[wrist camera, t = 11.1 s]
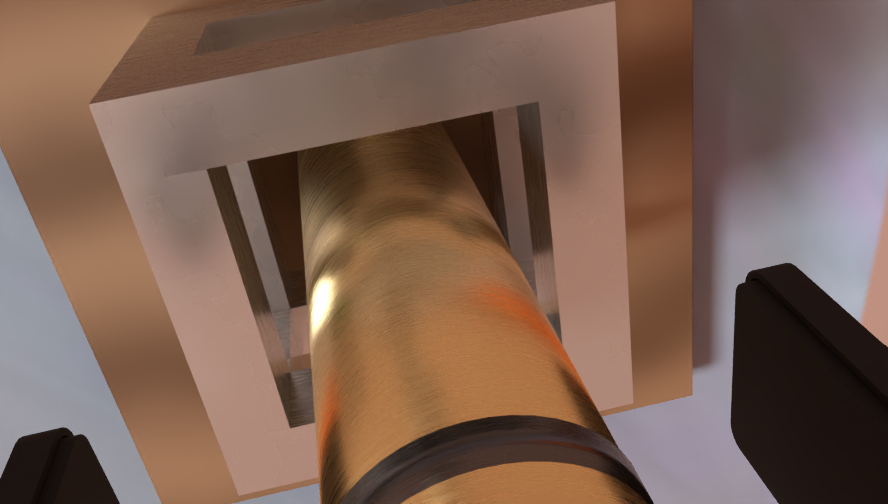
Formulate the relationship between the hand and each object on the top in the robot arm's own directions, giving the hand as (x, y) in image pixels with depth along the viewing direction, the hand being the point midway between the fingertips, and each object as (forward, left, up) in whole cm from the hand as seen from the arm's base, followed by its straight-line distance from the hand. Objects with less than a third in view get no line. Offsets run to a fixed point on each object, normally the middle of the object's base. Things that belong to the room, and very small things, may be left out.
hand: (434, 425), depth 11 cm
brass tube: (0, 0, -12) cm, 12 cm away
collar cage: (0, 0, -11) cm, 12 cm away
